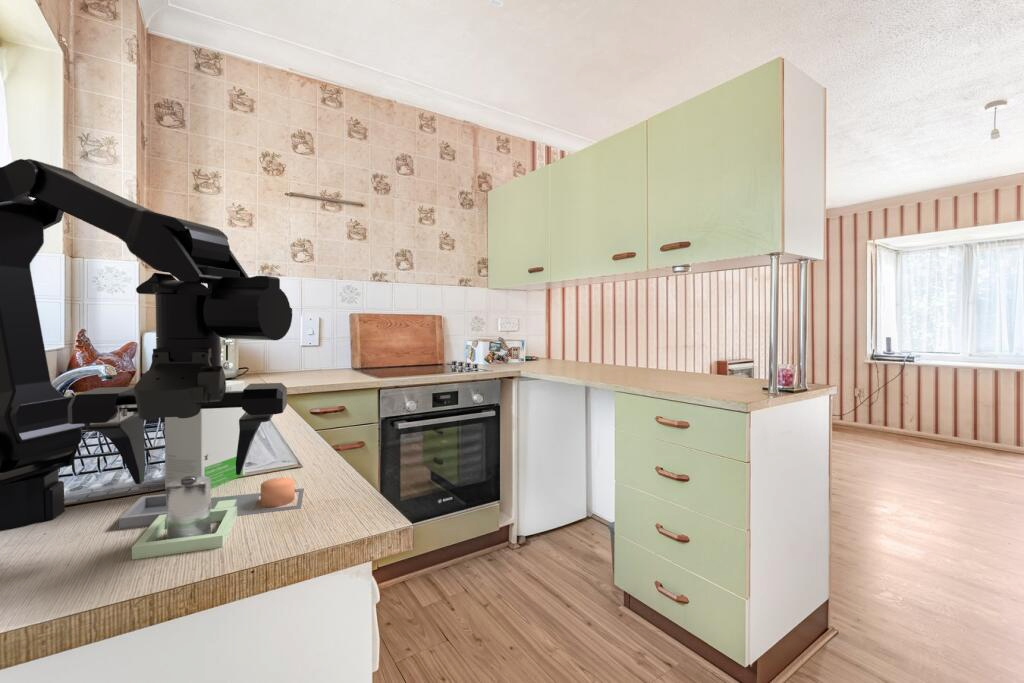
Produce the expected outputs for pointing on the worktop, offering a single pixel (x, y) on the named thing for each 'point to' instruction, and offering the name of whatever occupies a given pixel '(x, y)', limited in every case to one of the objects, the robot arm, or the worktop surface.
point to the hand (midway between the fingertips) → (191, 478)
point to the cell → (188, 507)
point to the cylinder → (277, 492)
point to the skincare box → (204, 443)
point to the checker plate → (155, 505)
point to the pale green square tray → (153, 548)
